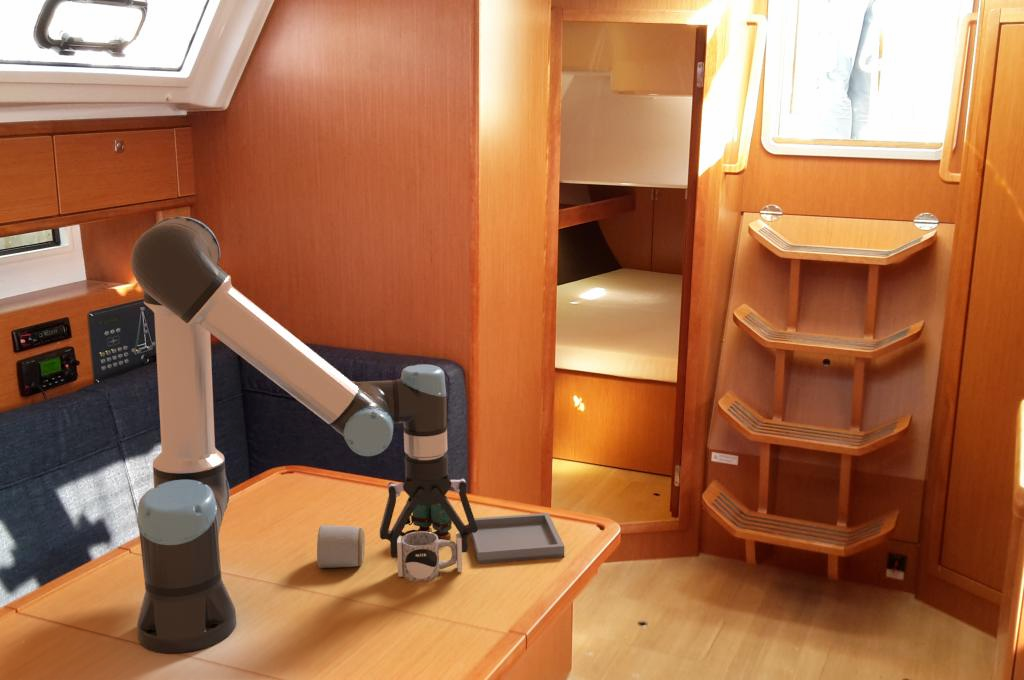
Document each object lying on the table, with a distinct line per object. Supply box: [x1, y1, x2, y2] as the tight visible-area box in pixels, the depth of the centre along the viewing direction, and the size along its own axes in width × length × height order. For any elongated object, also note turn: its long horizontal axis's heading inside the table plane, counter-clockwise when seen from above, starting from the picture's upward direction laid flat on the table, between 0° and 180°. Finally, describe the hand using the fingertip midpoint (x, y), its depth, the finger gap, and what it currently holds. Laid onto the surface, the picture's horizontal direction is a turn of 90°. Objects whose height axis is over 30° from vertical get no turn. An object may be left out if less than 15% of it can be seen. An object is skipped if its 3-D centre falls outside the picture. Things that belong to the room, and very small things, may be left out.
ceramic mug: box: [316, 524, 366, 569], centre depth 189 cm, size 11×8×8 cm
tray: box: [469, 512, 565, 565], centre depth 197 cm, size 16×16×2 cm
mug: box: [401, 531, 457, 583], centre depth 184 cm, size 10×7×7 cm, turn 102°
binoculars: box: [400, 503, 453, 541], centre depth 197 cm, size 9×11×10 cm
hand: (430, 570), depth 185 cm, fingers closed on mug, 10 cm apart
